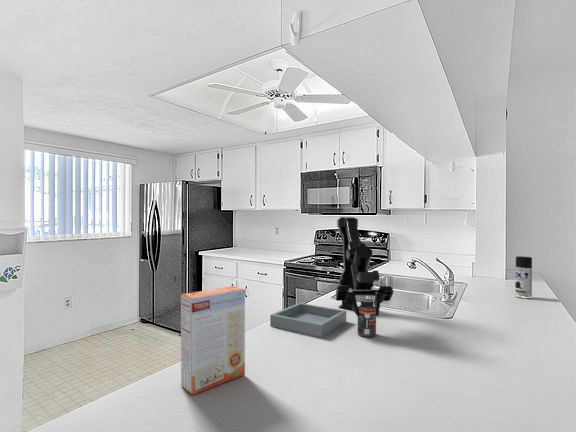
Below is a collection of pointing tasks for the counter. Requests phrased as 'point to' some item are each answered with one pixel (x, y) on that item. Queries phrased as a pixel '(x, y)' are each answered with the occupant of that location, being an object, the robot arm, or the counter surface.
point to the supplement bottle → (367, 318)
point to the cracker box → (212, 337)
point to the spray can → (523, 276)
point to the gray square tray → (308, 319)
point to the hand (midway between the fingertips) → (367, 315)
